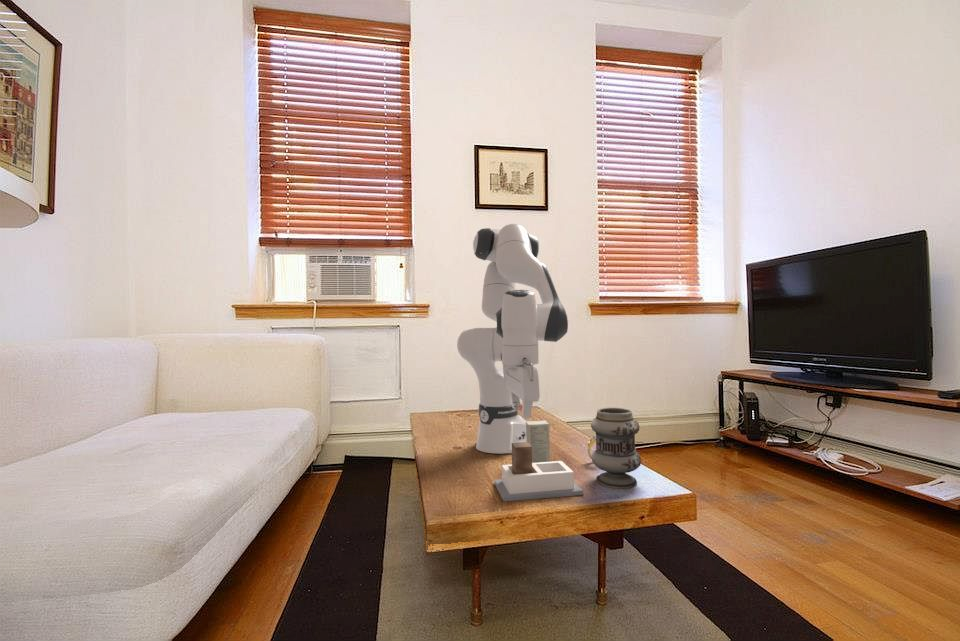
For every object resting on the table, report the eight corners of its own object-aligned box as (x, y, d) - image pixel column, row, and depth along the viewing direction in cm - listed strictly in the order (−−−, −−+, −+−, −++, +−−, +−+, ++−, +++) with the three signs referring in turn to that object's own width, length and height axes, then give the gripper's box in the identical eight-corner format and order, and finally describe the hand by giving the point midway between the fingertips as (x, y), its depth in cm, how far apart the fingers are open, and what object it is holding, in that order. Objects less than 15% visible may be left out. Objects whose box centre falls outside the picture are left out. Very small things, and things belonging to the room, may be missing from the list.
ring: (588, 464, 121) (588, 436, 121) (585, 460, 125) (584, 433, 125) (612, 463, 122) (612, 435, 122) (608, 459, 125) (608, 432, 125)
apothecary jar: (600, 469, 117) (599, 403, 117) (647, 478, 110) (645, 408, 110) (584, 483, 107) (583, 411, 107) (634, 494, 100) (632, 417, 100)
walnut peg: (528, 482, 106) (527, 441, 106) (532, 488, 102) (531, 446, 102) (512, 483, 105) (511, 442, 105) (516, 489, 101) (515, 447, 101)
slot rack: (503, 501, 97) (503, 479, 97) (494, 483, 108) (494, 463, 108) (583, 494, 100) (582, 473, 100) (566, 478, 111) (565, 458, 111)
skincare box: (547, 462, 124) (546, 420, 124) (550, 467, 119) (550, 423, 119) (526, 462, 124) (525, 420, 124) (528, 467, 119) (527, 424, 119)
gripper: (546, 360, 94) (547, 423, 94) (522, 352, 114) (523, 404, 114) (518, 361, 93) (519, 425, 93) (498, 353, 113) (499, 405, 113)
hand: (521, 413), depth 104 cm, fingers open, 8 cm apart
